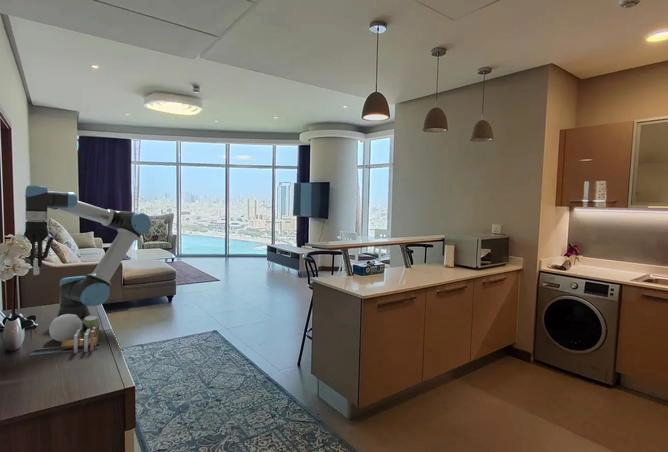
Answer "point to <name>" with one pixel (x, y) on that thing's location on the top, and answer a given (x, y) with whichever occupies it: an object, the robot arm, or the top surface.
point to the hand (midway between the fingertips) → (36, 274)
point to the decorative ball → (65, 327)
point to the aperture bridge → (92, 338)
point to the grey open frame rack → (56, 351)
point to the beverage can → (91, 324)
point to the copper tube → (70, 343)
